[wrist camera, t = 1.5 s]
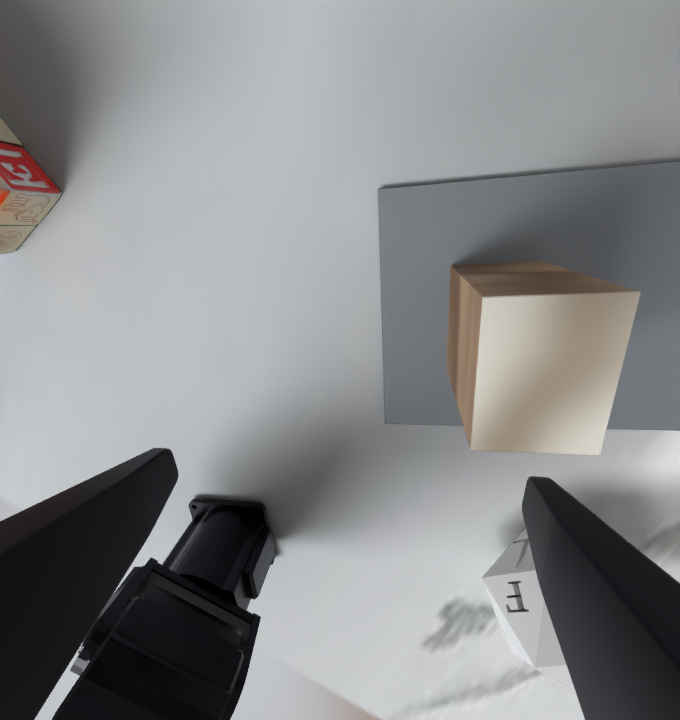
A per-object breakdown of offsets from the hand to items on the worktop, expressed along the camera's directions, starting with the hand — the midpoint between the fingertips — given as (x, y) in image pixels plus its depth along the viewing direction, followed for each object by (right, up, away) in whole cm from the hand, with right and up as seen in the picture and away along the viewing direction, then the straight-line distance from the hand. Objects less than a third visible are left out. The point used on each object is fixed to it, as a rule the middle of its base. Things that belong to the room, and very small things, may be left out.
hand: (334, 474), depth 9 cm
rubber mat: (+11, +5, +11) cm, 16 cm away
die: (+15, -11, +17) cm, 25 cm away
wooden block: (+9, +5, +11) cm, 15 cm away
